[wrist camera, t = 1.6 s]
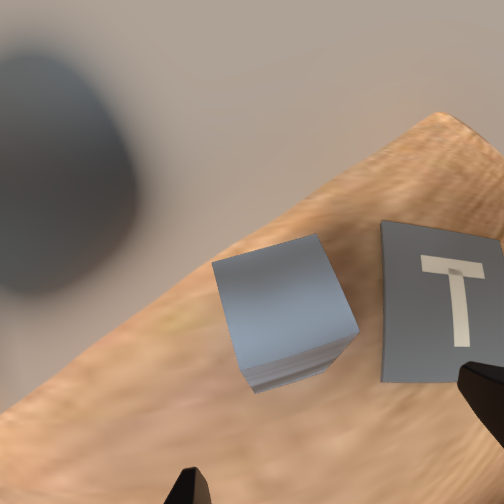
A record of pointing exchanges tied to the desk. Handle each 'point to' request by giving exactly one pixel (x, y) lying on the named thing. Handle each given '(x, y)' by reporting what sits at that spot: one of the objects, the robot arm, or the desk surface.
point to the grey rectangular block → (284, 312)
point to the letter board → (439, 303)
